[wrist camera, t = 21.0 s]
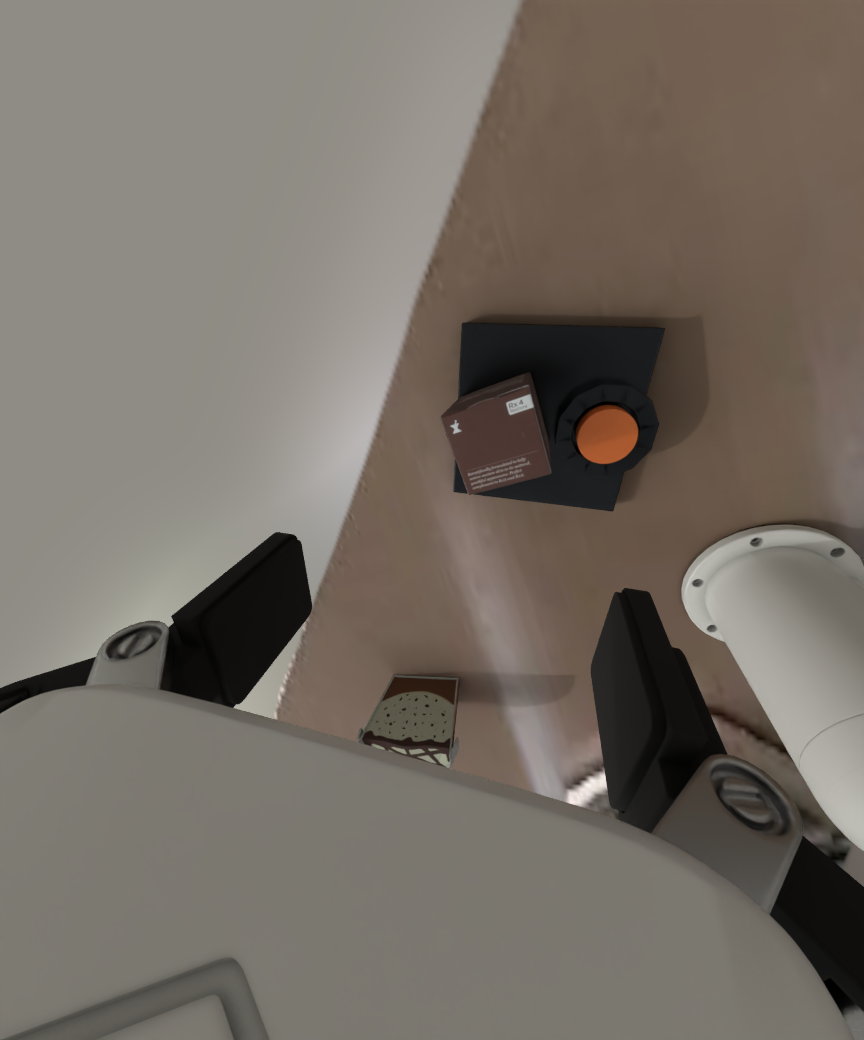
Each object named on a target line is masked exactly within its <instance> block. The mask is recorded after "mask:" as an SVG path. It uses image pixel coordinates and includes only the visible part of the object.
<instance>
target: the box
mask: <svg viewBox="0 0 864 1040" xmlns="http://www.w3.org/2000/svg"><path fill="white" fill-rule="evenodd" d="M440 419H441V421H442V424H443V426H444V429H445V432H446V435H447V437H448V440H449V443H450V446H451V448H452V451H453V454H454V457H455V460H456V462H457V464H458V467H459V470H460V473H461V476H462V478H463V481H464V484H465V487H466V489H467V492H468V495H471V494H476V493H480V492H484V491H488V490H492V489H496V488H500V487H504V486H507V485H511V484H515V483H519V482H523V481H526V480H531V479H535V478H538V477H542V476H546V475H549V474H551V460H550V446H549V440H548V436H547V431H546V428H545V424H544V420H543V416H542V412H541V408H540V405H539V401H538V398H537V394H536V391H535V387H534V384H533V380H532V376H531V374H530V373H529V372H528V373H525V374H522V375H519V376H516V377H514V378H511V379H508V380H505V381H502V382H499V383H497V384H494V385H491V386H489V387H486V388H483V389H480V390H478V391H475V392H473V393H470V394H467V395H464V396H462V397H460V398H459V399H458V400H457V401H456V402H455V403H454V404H453V405H452V406H451V407H450V408H449V409H448V410H447V411H446V412H445V413H444V414H443V415H442V416H441V417H440Z"/></svg>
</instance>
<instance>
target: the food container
mask: <svg viewBox="0 0 864 1040" xmlns="http://www.w3.org/2000/svg"><path fill="white" fill-rule="evenodd" d="M458 694H459V678H450V677H427V676H405V675H393V677H392V678H391V680H390V682H389V684H388V686H387V688H386V690H385V692H384V693H383V695H382V697H381V699H380V701H379V703H378V705H377V707H376V709H375V710H374V712H373V714H372V716H371V718H370V720H369V722H368V724H367V725H366V727H365V729H364V731H363V730H362V728H360V730H359V734H358V738H357V739H358V743H361V744H365V745H369V746H372V747H376V748H379V749H383V750H386V751H390V752H394V753H397V754H401V755H404V756H408V757H411V758H415V759H418V760H422V761H425V762H429V763H432V764H436V765H439V766H443V767H446V768H450V767H451V765H452V764H453V762H454V759H455V757H456V754H457V752H458V749H459V740H458V737H457V738H456V740H455V743H454V733H455V723H456V713H457V704H458ZM453 743H454V745H453Z"/></svg>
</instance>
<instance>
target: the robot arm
mask: <svg viewBox="0 0 864 1040" xmlns="http://www.w3.org/2000/svg"><path fill="white" fill-rule="evenodd" d="M681 592H682V601H683V604H684V607H685V609H686V611H687V613H688V615H689V617H690V619H691V620H692V621H693V622H694V623H695V624H696V626H697V627H698V628H700V629H701V630H702V631H703V632H705V633H706V634H708V635H710V636H712V637H714V638H716V639H718V640H721V641H724V642H726V644H727V646H728V648H729V649H730V651H731V653H732V655H733V656H734V658H735V660H736V662H737V663H738V665H739V667H740V669H741V670H742V672H743V674H744V676H745V677H746V679H747V681H748V683H749V684H750V686H751V688H752V690H753V691H754V693H755V695H756V697H757V698H758V700H759V702H760V703H761V705H762V707H763V709H764V710H765V712H766V714H767V716H768V717H769V719H770V721H771V723H772V724H773V726H774V728H775V730H776V731H777V733H778V735H779V737H780V738H781V740H782V742H783V744H784V745H785V747H786V749H787V751H788V752H789V754H790V756H791V758H792V759H793V761H794V763H795V764H796V766H797V768H798V770H799V771H800V773H801V775H802V777H803V778H804V780H805V781H806V783H807V785H808V786H809V788H810V790H811V792H812V793H813V795H814V797H815V799H816V800H817V802H818V803H819V805H820V806H821V808H822V809H823V810H824V812H825V813H826V814H827V816H828V817H829V818H830V819H831V821H832V822H833V823H834V824H835V825H836V826H837V827H838V829H839V830H840V831H841V832H842V833H843V834H844V835H845V836H846V837H847V838H848V839H849V840H850V841H851V842H853V843H854V844H855V845H856V846H858V847H859V848H860V849H861V850H863V851H864V565H863V563H862V561H861V559H860V557H859V556H858V555H857V554H856V553H855V552H854V551H853V550H852V548H851V547H849V546H848V545H847V544H845V543H844V542H842V541H841V540H840V539H838V538H837V537H835V536H833V535H831V534H829V533H827V532H825V531H822V530H818V529H815V528H811V527H807V526H799V525H769V526H762V527H756V528H752V529H748V530H745V531H741V532H738V533H735V534H733V535H731V536H729V537H726V538H724V539H722V540H720V541H718V542H717V543H715V544H714V545H712V546H710V547H709V548H707V549H706V550H705V551H704V552H703V553H702V554H701V555H699V556H698V557H697V558H696V559H695V561H694V562H693V563H692V564H691V566H690V567H689V569H688V571H687V573H686V575H685V577H684V579H683V583H682V588H681ZM311 610H312V602H311V596H310V590H309V585H308V579H307V573H306V567H305V561H304V556H303V550H302V544H301V542H300V541H299V540H297V537H296V536H295V535H292V534H286V533H280V532H276V533H274V534H273V535H271V536H270V537H269V538H268V539H267V540H265V541H264V542H263V543H261V544H260V545H259V546H258V547H256V548H255V549H254V550H253V551H252V552H250V553H249V554H248V555H247V556H245V557H244V558H243V559H242V560H240V561H239V562H238V563H237V564H235V565H234V566H233V567H232V568H230V569H229V570H228V571H227V572H225V573H224V574H223V575H222V576H221V577H219V578H218V579H217V580H216V581H215V582H213V583H212V584H211V585H210V586H208V587H207V588H206V589H205V590H203V591H202V592H201V593H199V594H198V595H197V596H196V597H195V598H193V599H192V600H191V601H190V602H188V603H187V604H186V605H185V606H183V607H182V608H181V609H180V610H178V611H177V612H176V613H175V614H174V615H172V616H171V617H172V619H173V621H174V623H173V624H172V625H171V626H170V627H168V626H167V625H166V624H165V623H163V622H160V621H145V622H140V623H137V624H134V625H131V626H128V627H126V628H124V629H122V630H120V631H118V632H117V633H115V634H114V635H112V636H111V637H109V638H108V639H107V641H105V642H104V643H103V644H102V646H101V648H100V649H99V651H98V654H97V656H96V657H94V658H91V659H88V660H85V661H81V662H78V663H75V664H72V665H69V666H65V667H62V668H59V669H56V670H53V671H49V672H46V673H43V674H40V675H36V676H33V677H31V678H27V679H24V680H21V681H17V682H15V683H12V684H10V685H7V686H4V687H2V688H0V1040H864V887H863V886H862V885H861V884H860V883H858V882H857V881H856V880H854V878H852V877H851V876H850V875H849V874H848V873H846V872H845V871H844V870H843V869H842V868H841V867H839V866H838V865H837V864H836V863H835V862H833V861H832V860H831V859H830V858H829V857H827V856H826V855H825V854H824V853H823V852H821V851H820V850H819V849H818V848H817V847H816V846H814V845H813V844H812V843H811V842H810V841H808V840H807V839H806V838H805V837H804V836H802V834H803V823H802V820H801V817H800V813H799V811H798V809H797V808H796V806H795V804H794V803H793V801H792V799H791V798H790V796H789V795H788V794H787V793H786V792H785V791H784V790H783V788H782V787H781V786H780V785H779V784H778V783H777V782H776V781H775V780H774V779H772V778H771V777H770V776H769V775H768V774H766V773H765V772H764V771H763V770H761V769H759V768H758V767H756V766H755V765H753V764H751V763H750V762H748V761H745V760H743V759H740V758H738V757H735V756H731V755H727V752H726V750H725V748H724V745H723V743H722V741H721V738H720V736H719V734H718V731H717V729H716V727H715V725H714V722H713V720H712V718H711V715H710V713H709V711H708V708H707V706H706V704H705V701H704V699H703V697H702V694H701V692H700V690H699V687H698V685H697V683H696V680H695V678H694V676H693V673H692V671H691V669H690V666H689V664H688V662H687V659H686V657H685V655H684V654H683V652H682V651H681V650H680V649H678V648H673V647H671V645H670V642H669V640H668V637H667V635H666V632H665V630H664V627H663V625H662V622H661V620H660V617H659V615H658V612H657V610H656V607H655V605H654V602H653V600H652V597H651V595H650V593H649V592H647V591H641V590H635V589H628V588H624V589H623V590H622V593H619V592H615V594H614V596H613V598H612V601H611V605H610V608H609V611H608V614H607V617H606V620H605V623H604V626H603V629H602V632H601V635H600V638H599V642H598V645H597V648H596V651H595V654H594V657H593V660H592V664H591V678H592V685H593V692H594V699H595V706H596V713H597V720H598V727H599V734H600V741H601V748H602V754H603V761H604V768H605V775H606V782H607V789H608V796H609V802H610V805H611V807H612V808H614V809H617V810H618V811H619V817H620V821H619V820H617V819H614V818H611V817H608V816H605V815H602V814H600V813H597V812H594V811H591V810H588V809H585V808H582V807H579V806H576V805H572V804H569V803H566V802H562V801H559V800H556V799H553V798H549V797H546V796H543V795H539V794H536V793H533V792H530V791H526V790H523V789H520V788H516V787H513V786H510V785H506V784H503V783H499V782H496V781H492V780H489V779H485V778H482V777H478V776H475V775H471V774H468V773H464V772H461V771H457V770H453V769H450V768H446V767H443V766H439V765H436V764H432V763H429V762H425V761H422V760H418V759H415V758H411V757H408V756H404V755H401V754H397V753H394V752H390V751H386V750H383V749H379V748H376V747H372V746H369V745H365V744H361V743H358V742H354V741H351V740H347V739H344V738H340V737H336V736H333V735H329V734H326V733H322V732H318V731H315V730H311V729H308V728H304V727H300V726H297V725H293V724H290V723H286V722H282V721H279V720H275V719H271V718H268V717H264V716H260V715H257V714H253V713H249V712H246V711H241V710H238V709H235V708H233V707H234V706H235V705H236V704H240V703H241V702H242V701H243V700H244V699H245V698H246V697H247V695H248V694H249V693H250V691H251V690H252V689H253V687H254V686H255V685H256V684H257V682H258V681H259V680H260V678H261V677H262V676H263V675H264V673H265V672H266V671H267V669H268V668H269V667H270V666H271V664H272V663H273V662H274V660H275V659H276V658H277V656H278V655H279V654H280V653H281V651H282V650H283V649H284V647H285V646H286V645H287V644H288V642H289V641H290V640H291V639H292V637H293V636H294V635H295V633H296V632H297V631H298V629H299V628H300V627H301V626H302V624H303V623H304V622H305V621H306V619H307V618H308V617H309V615H310V613H311Z"/></svg>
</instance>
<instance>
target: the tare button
mask: <svg viewBox="0 0 864 1040" xmlns="http://www.w3.org/2000/svg"><path fill="white" fill-rule="evenodd" d="M637 438H638V427H637V424H636V422H635V420H634V419H633V417H632V416H631V415H630V414H629V413H628V412H627V411H626V410H624V409H623V408H621V407H619V406H615V405H602V406H598V407H595V408H593V409H591V410H590V411H588V412H587V413H586V414H585V415H584V416H583V417H582V418H581V420H580V421H579V423H578V426H577V429H576V441H577V444H578V447H579V450H580V452H581V453H582V455H583V456H584V457H585V458H587V459H588V460H590V461H592V462H595V463H599V464H608V463H613V462H616V461H618V460H620V459H622V458H624V457H625V456H626V455H628V454H629V453H630V452H631V450H632V449H633V448H634V446H635V444H636V442H637Z"/></svg>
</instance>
